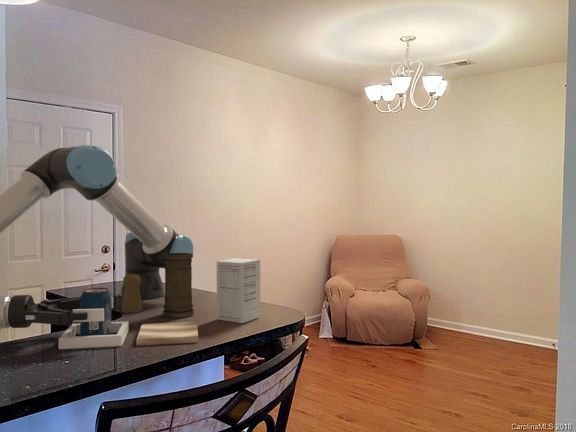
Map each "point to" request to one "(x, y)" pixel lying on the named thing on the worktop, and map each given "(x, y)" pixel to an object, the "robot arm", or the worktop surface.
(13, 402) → the worktop surface
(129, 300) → the olive brown rounded figure
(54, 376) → the worktop surface
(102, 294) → the soda can
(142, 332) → the birch board
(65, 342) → the tray
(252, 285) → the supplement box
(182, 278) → the container
